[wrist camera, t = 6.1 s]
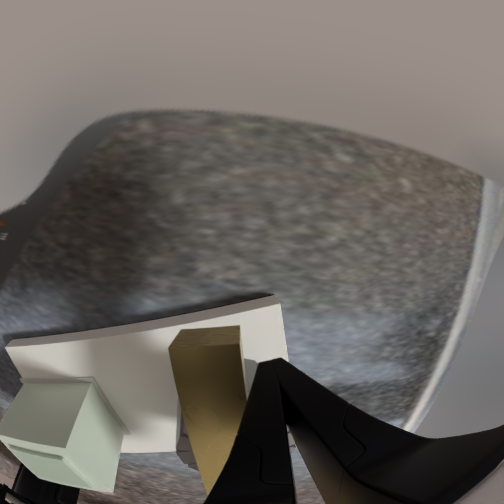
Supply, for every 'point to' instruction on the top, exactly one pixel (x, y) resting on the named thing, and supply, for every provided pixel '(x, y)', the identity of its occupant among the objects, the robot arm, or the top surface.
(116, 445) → the pale green block
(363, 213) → the top surface
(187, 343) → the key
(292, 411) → the robot arm
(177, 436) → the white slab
